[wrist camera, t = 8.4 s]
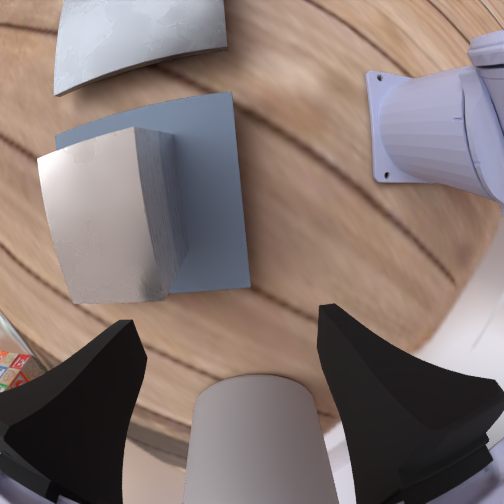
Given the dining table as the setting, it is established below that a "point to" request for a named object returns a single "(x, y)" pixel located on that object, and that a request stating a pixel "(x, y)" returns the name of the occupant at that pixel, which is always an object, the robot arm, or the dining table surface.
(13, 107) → the dining table surface
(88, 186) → the block
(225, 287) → the stand
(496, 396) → the robot arm
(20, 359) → the stack of blocks
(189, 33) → the stand
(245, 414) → the cylinder vase
